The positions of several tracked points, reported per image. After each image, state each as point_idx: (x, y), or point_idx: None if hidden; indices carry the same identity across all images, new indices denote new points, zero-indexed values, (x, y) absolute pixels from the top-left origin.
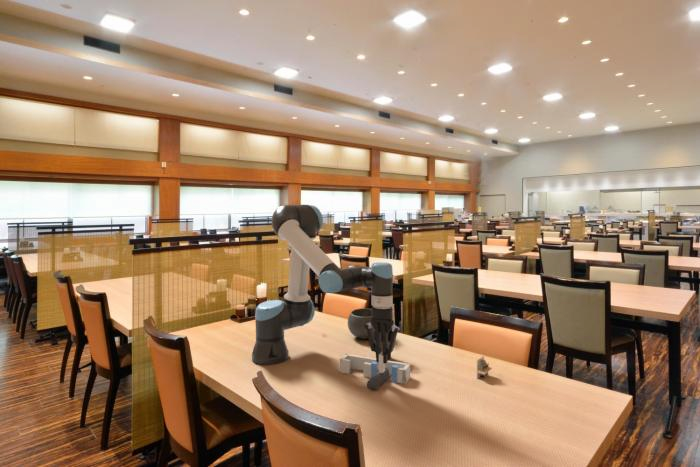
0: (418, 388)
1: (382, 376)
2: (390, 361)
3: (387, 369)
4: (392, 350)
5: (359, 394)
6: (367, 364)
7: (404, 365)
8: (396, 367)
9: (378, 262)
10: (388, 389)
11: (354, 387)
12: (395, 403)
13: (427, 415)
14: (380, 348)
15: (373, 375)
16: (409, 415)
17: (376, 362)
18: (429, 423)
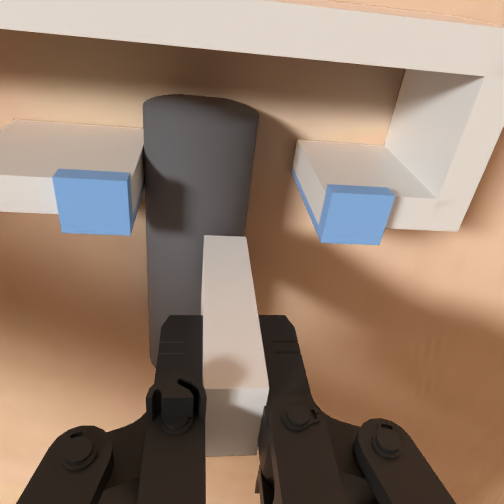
0: (491, 209)
1: None
2: (265, 22)
3: (245, 130)
4: (407, 457)
5: (140, 379)
6: (14, 207)
7: (457, 69)
8: (372, 243)
9: None
10: (288, 284)
11: (66, 327)
12: (347, 390)
13: (483, 417)
14: (197, 470)
15: (165, 309)
16: (410, 436)
17: (111, 187)
18: (480, 450)
